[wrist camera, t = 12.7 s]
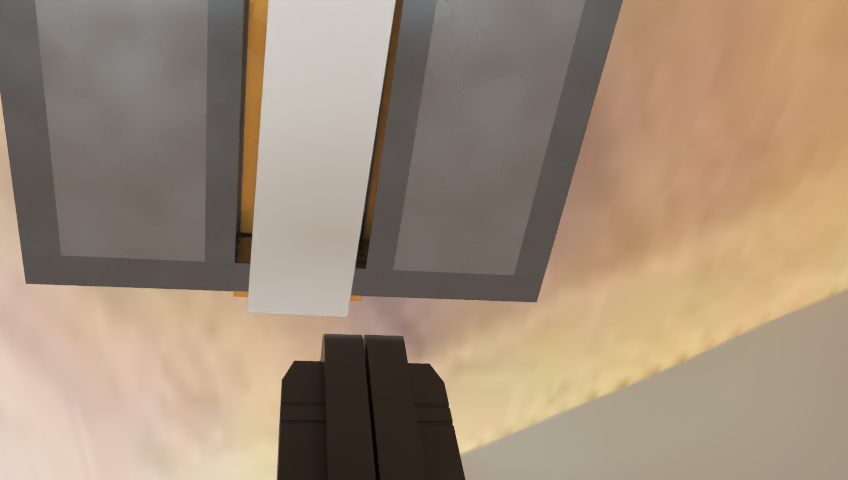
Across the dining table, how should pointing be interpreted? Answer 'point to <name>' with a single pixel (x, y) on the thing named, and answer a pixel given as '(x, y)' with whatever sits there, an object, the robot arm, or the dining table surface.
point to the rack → (239, 136)
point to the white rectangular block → (315, 151)
